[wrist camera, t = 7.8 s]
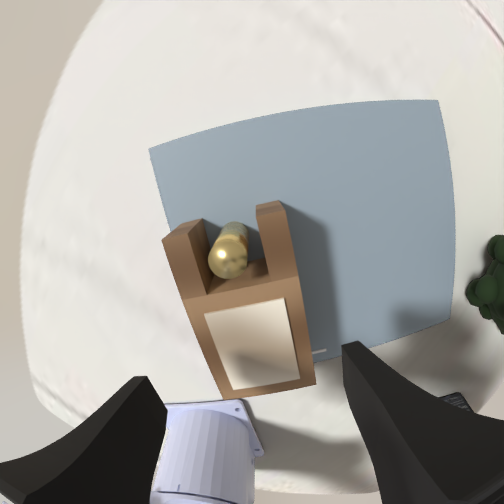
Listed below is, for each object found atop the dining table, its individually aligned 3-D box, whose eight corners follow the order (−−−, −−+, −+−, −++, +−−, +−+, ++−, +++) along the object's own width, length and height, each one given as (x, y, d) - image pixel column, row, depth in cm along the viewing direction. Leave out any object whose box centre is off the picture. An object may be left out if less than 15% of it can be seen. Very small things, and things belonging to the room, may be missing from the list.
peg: (252, 245, 16) (251, 274, 12) (224, 252, 16) (214, 282, 12) (245, 218, 15) (241, 237, 11) (217, 224, 15) (203, 246, 11)
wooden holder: (307, 349, 18) (316, 385, 14) (228, 363, 18) (223, 401, 15) (278, 199, 15) (285, 210, 11) (181, 223, 15) (160, 240, 12)
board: (444, 314, 18) (450, 319, 17) (218, 372, 19) (216, 380, 18) (431, 101, 13) (438, 100, 12) (145, 152, 15) (139, 151, 14)
